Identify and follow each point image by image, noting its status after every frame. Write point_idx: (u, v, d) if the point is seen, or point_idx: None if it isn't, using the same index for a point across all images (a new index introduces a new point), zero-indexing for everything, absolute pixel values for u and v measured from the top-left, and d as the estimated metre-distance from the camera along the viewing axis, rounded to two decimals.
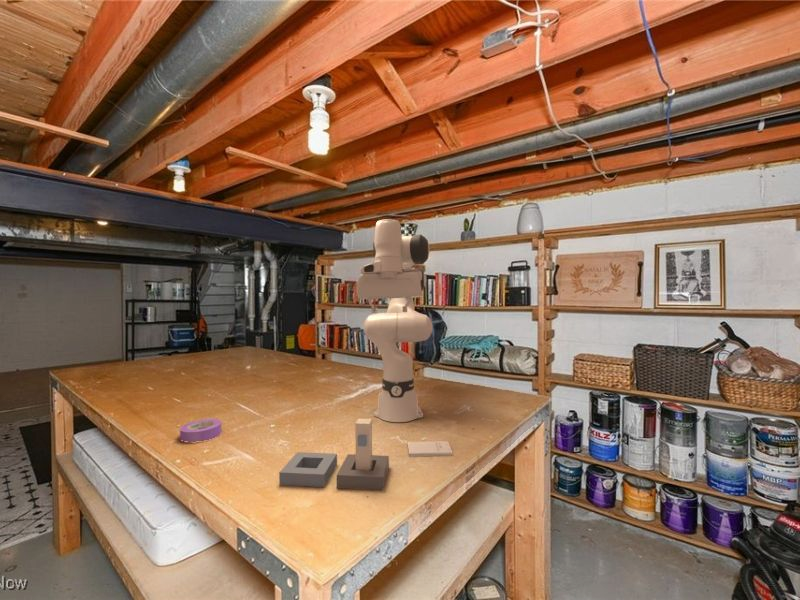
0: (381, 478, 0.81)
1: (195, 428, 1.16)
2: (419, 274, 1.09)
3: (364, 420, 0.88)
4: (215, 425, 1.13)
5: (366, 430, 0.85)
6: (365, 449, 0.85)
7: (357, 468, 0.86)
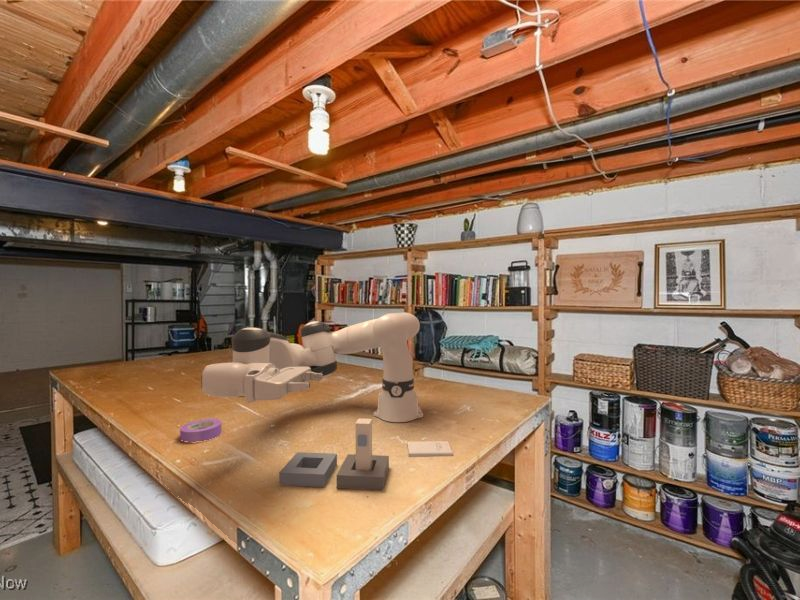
0: (381, 478, 0.81)
1: (195, 428, 1.16)
2: None
3: (364, 420, 0.88)
4: (215, 425, 1.13)
5: (366, 430, 0.85)
6: (365, 449, 0.85)
7: (357, 468, 0.86)
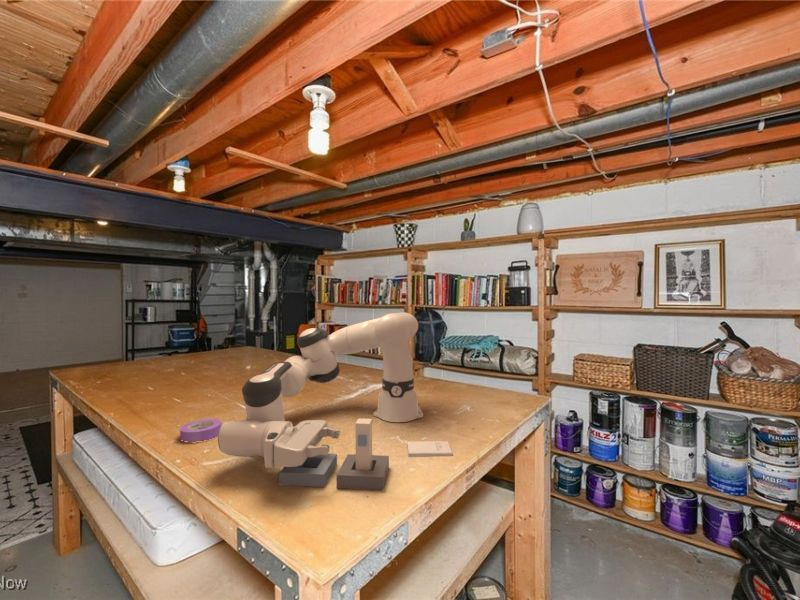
0: (381, 478, 0.81)
1: (195, 428, 1.16)
2: None
3: (364, 420, 0.88)
4: (215, 425, 1.13)
5: (366, 430, 0.85)
6: (365, 449, 0.85)
7: (357, 468, 0.86)
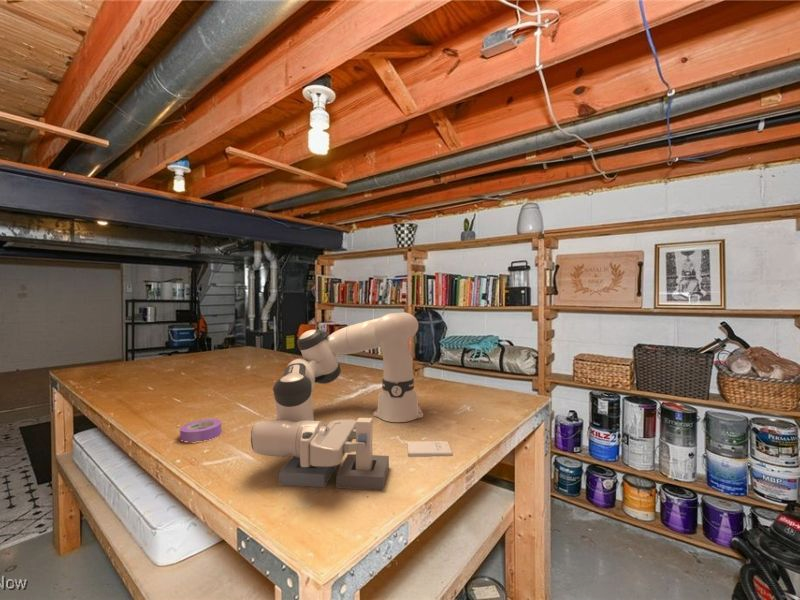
0: (381, 478, 0.81)
1: (195, 428, 1.16)
2: None
3: (365, 419, 0.88)
4: (215, 425, 1.13)
5: (366, 429, 0.86)
6: (365, 448, 0.86)
7: (357, 467, 0.86)
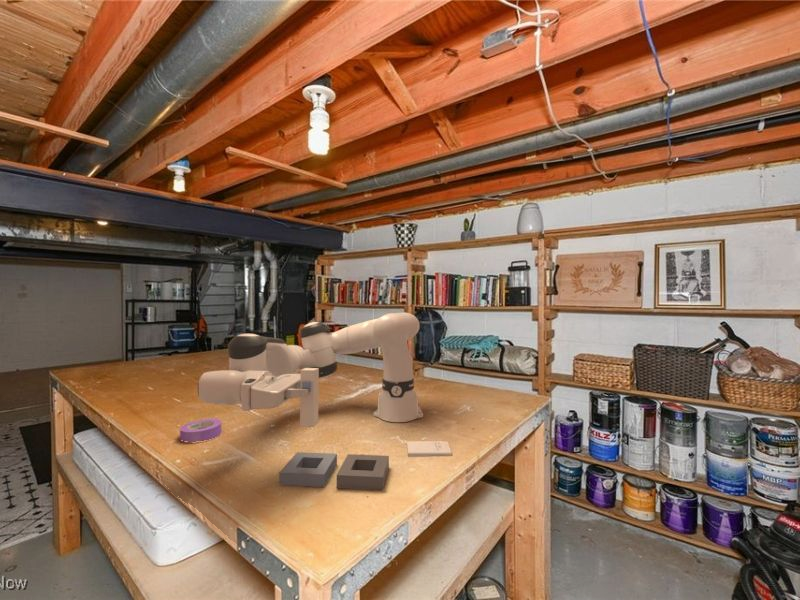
0: (381, 478, 0.81)
1: (195, 428, 1.16)
2: None
3: (310, 368, 0.90)
4: (215, 425, 1.13)
5: (311, 377, 0.87)
6: (309, 396, 0.87)
7: (301, 414, 0.87)
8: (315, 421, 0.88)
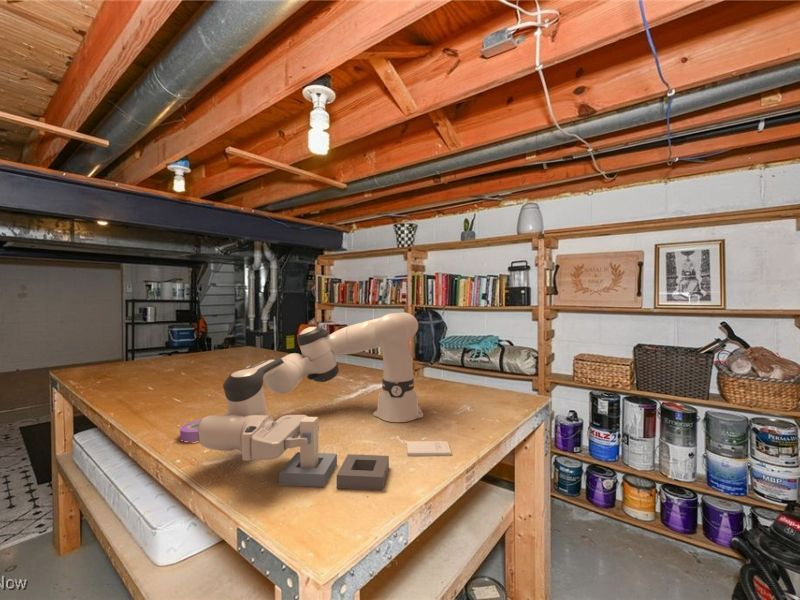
0: (381, 478, 0.81)
1: (195, 428, 1.16)
2: None
3: (310, 418, 0.89)
4: None
5: (310, 428, 0.87)
6: (309, 447, 0.87)
7: (302, 465, 0.87)
8: None
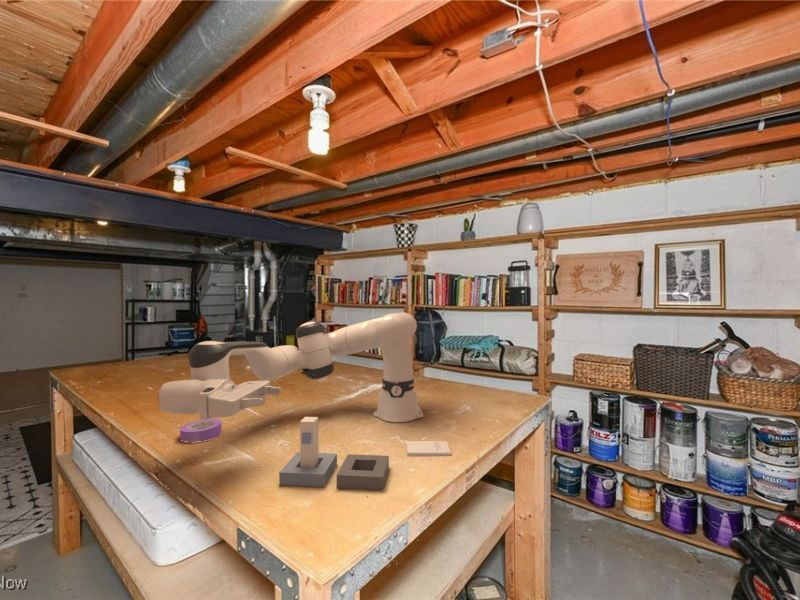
0: (381, 478, 0.81)
1: (195, 428, 1.16)
2: None
3: (310, 418, 0.89)
4: (215, 425, 1.13)
5: (310, 428, 0.87)
6: (309, 447, 0.87)
7: (302, 465, 0.87)
8: None
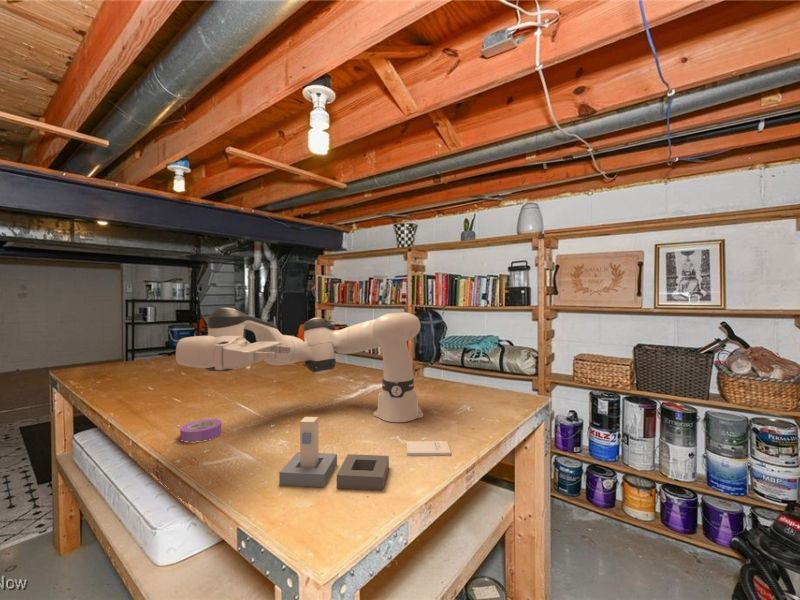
0: (381, 478, 0.81)
1: (195, 428, 1.16)
2: None
3: (310, 418, 0.89)
4: (215, 425, 1.13)
5: (310, 428, 0.87)
6: (309, 447, 0.87)
7: (302, 465, 0.87)
8: None
